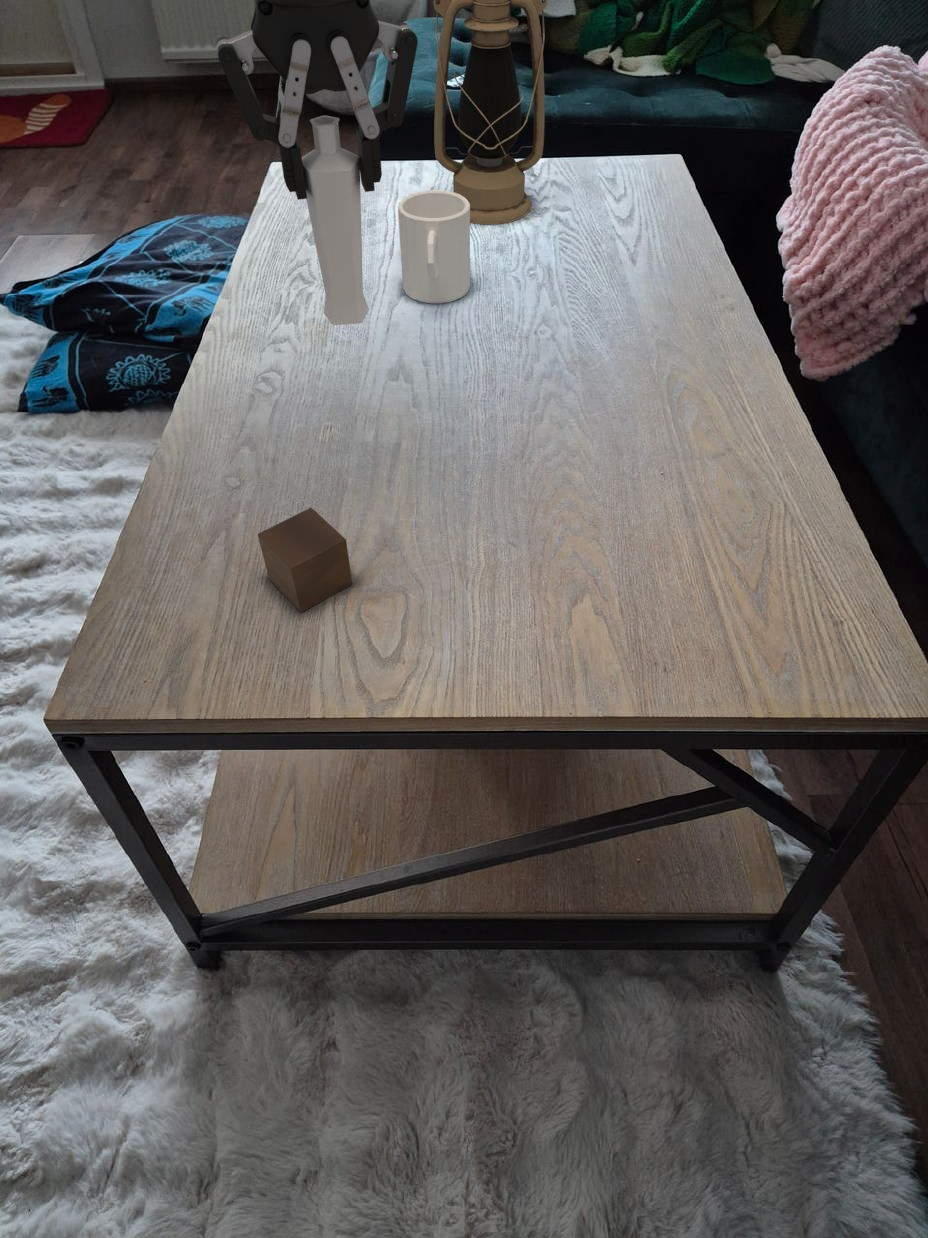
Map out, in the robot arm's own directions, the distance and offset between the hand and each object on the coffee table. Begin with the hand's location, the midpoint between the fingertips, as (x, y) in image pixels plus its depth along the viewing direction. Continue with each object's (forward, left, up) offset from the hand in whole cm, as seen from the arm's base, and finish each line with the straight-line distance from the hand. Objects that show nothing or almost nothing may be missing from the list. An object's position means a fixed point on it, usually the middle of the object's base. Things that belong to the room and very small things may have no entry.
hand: (334, 190), depth 65 cm
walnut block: (-8, -17, -24) cm, 30 cm away
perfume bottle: (0, 0, -11) cm, 11 cm away
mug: (+13, +27, -24) cm, 38 cm away
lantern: (+26, +50, -24) cm, 61 cm away
